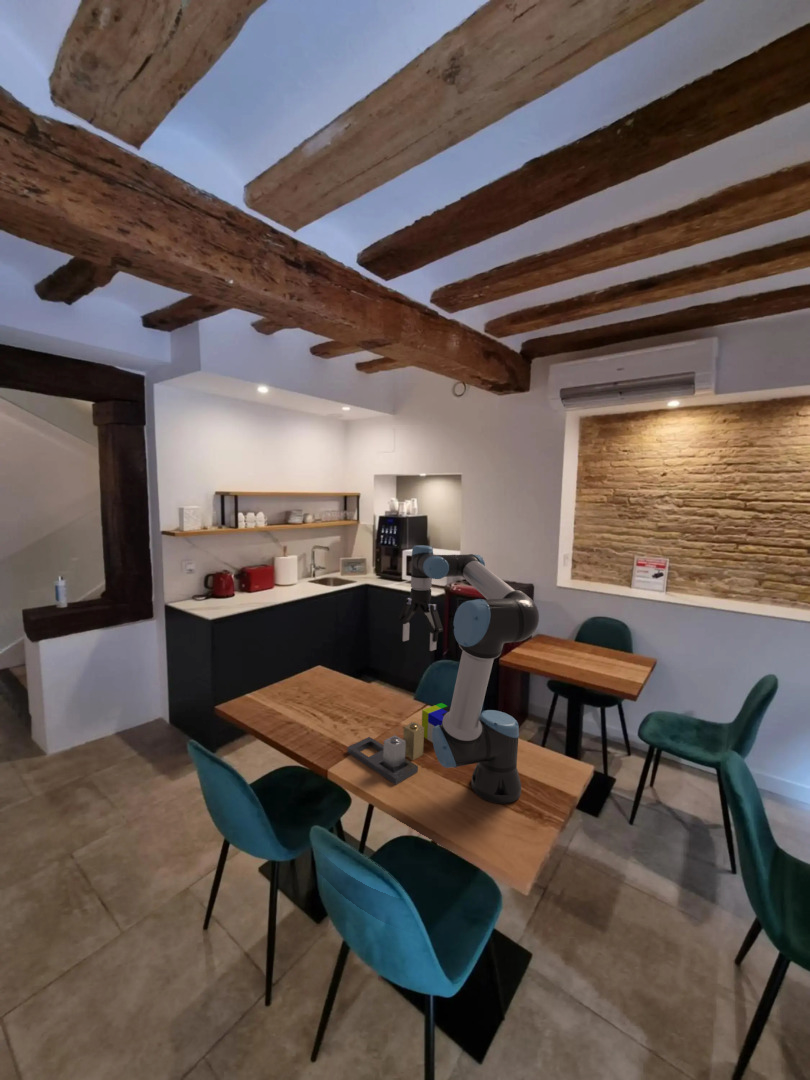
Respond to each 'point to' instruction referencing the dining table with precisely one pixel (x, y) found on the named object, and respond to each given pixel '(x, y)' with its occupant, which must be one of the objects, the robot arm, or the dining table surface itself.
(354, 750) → the grey flat plate
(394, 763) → the silver block with knob
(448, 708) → the puzzle toy
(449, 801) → the dining table surface
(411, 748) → the tan block with knob
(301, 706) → the dining table surface
